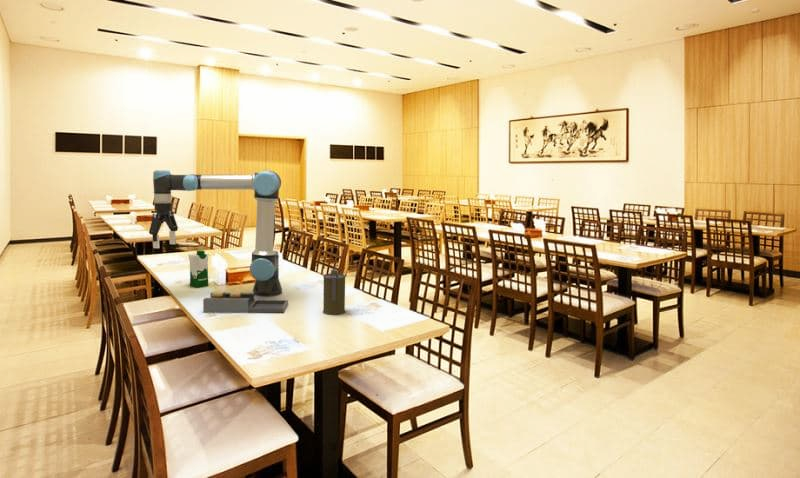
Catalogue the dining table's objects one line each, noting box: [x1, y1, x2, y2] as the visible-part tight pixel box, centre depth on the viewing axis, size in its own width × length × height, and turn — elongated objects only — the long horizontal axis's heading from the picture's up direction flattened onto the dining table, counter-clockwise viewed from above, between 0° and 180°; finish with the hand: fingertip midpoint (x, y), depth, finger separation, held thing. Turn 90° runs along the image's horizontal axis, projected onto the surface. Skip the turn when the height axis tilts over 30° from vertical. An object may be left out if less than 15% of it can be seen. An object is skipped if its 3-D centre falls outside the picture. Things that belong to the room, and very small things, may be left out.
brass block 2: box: [230, 291, 243, 298], centre depth 235 cm, size 4×4×4 cm
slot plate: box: [202, 291, 256, 314], centre depth 235 cm, size 20×14×6 cm
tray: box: [247, 299, 289, 314], centre depth 237 cm, size 16×15×2 cm
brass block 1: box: [212, 291, 226, 298], centre depth 235 cm, size 4×4×4 cm
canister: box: [322, 268, 347, 316], centre depth 233 cm, size 11×10×20 cm
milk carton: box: [187, 249, 210, 289], centre depth 277 cm, size 9×9×20 cm
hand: (164, 246), depth 244 cm, fingers open, 13 cm apart
